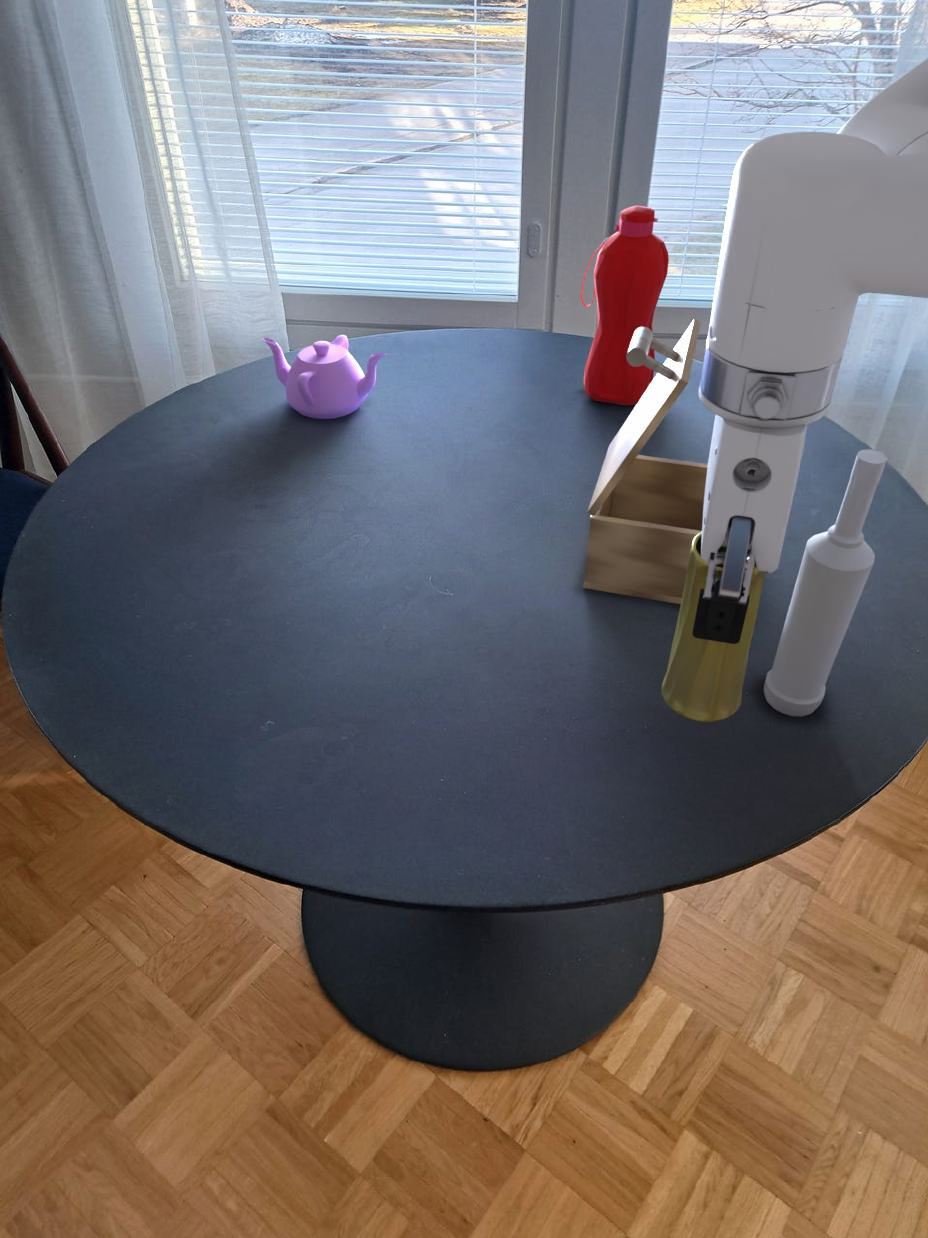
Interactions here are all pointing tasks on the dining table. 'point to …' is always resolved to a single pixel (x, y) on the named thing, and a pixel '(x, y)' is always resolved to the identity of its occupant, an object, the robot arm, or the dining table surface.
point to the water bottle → (624, 306)
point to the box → (647, 530)
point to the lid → (646, 404)
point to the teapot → (325, 378)
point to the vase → (707, 652)
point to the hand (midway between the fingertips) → (718, 608)
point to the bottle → (825, 597)
